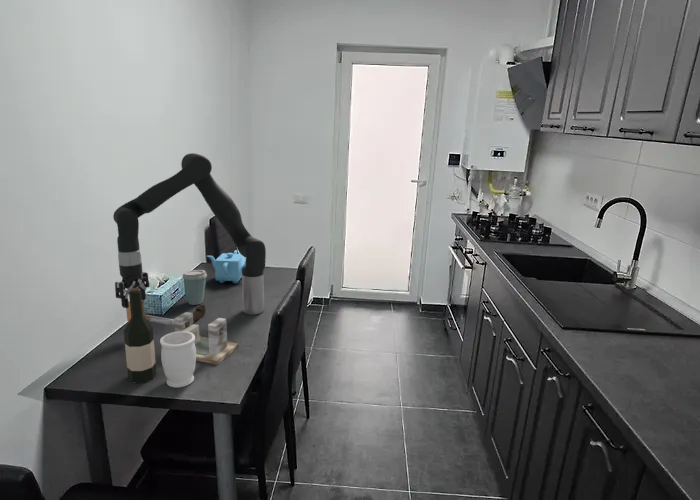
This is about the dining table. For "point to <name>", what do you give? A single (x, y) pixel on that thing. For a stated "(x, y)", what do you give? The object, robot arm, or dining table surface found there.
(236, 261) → the teakettle
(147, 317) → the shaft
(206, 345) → the bearing stand
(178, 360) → the jar
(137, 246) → the robot arm
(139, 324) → the wine bottle
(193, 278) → the disposable coffee cup
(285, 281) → the dining table surface
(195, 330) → the spacer collar
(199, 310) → the hand tool
